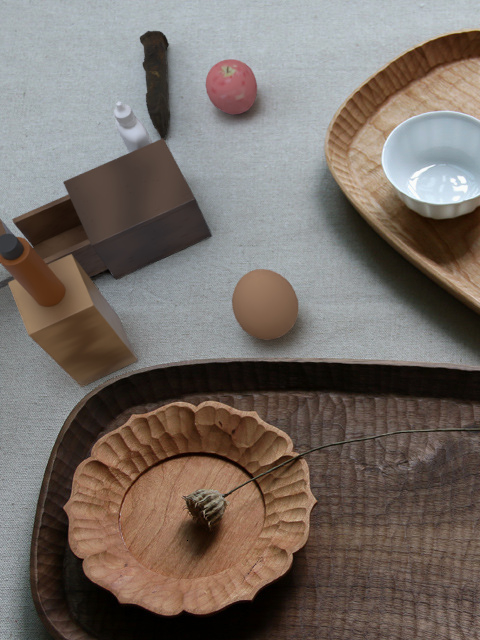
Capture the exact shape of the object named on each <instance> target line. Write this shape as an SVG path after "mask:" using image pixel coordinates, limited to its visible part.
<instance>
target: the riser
mask: <svg viewBox="0 0 480 640" xmlns="http://www.w3.org/2000/svg"><path fill="white" fill-rule="evenodd" d="M48 267H49V268H50V269H51V270H52V271H53V273H54V274H55V275H56V276H57V277H58V279H59V280H60V281H61V282H62V283H63V285H64V286H65V295H64V297H63V299H62V300H61V301H60V302H59V303H58V304H56V305H54V306H50V307H44V306H41V305H39V304H38V303H37V302H36V301H35V300H34V299H33V298H32V297H31V296H30V294H29V293H28V292H27V291H26V290H25V289H24V288H23V287H22V286H21V285H20V284H19V283H18V281H17V280H16V279H15V280H12V281H10V282H8V284H9V285H8V287H9V289H10V292H11V295H12V297H13V300H14V302H15V305H16V307H17V310H18V312H19V315H20V316H21V321H22V322H23V325H24V327H25V330H26V333H27V335H28V337H30V338H31V339H32V340H33V341H34V342H35V343H36V344H37V345H38V346H39V347H40V348H41V349H42V350H43V351H44V352H45V353H46V354H47V355H48V356H49V357H50V358H51V359H52V360H53V361H54V362H55V363H56V364H57V365H58V366H59V367H60V368H61V369H63V370H64V371H65V373H67V375H69V376H70V378H72V379H73V380H74V382H76V383H77V384H78V386H80V388H83V387H85V386H87V385H89V384H91V383H94V382H96V381H98V380H100V379H102V378H104V377H106V376H108V375H110V374H112V373H115V372H117V371H119V370H121V369H123V368H126V367H127V366H129V365H133V363H136V362H138V361H139V360H138V357H137V355H136V353H135V351H134V348H133V346H132V343H131V341H130V339H129V336H128V334H127V332H126V331H125V327H124V326H123V324H122V322H121V319H120V316H119V314H118V313H117V312H116V311H115V309H114V308H113V307H112V305H111V304H110V302H109V301H108V300H107V299H106V298H105V296H104V295H103V294H102V292H101V290H100V289H99V288H98V287H97V285H96V284H95V282H94V281H93V280H92V279H91V277H89V276H88V275H87V274H86V272H85V271H84V270H83V268H82V267H81V266H80V264H79V263H78V262H77V261H76V259H75V258H74V257H73V255H72V254H70V255H68V256H66V257H64V258H61V259H59V260H57V261H55V262H52V263H50V264H48Z"/></svg>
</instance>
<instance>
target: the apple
mask: <svg viewBox="0 0 480 640" xmlns="http://www.w3.org/2000/svg"><path fill="white" fill-rule="evenodd" d="M205 90H206V94H207V96H208V99H209V101H210V102H211V103H212V105H214V107H216V108H217V109H218V110H220V111H221V112H223V113H226V114H228V115H240V114H243V113H246V112H247V111H248V110H250V109H251V108H252V106H253V105H254V103H255V102H256V98H257V94H258V83H257V79H256V76H255V74H254V71H253V70H252V68H251V67H250V66H249V65H248V64H247V63H246V62H243V61H241V60H238V59H232V58H231V59H229V58H228V59H223V60H220V61H218V62H217V63H215V64H214V65H213V66H211V68H210V70H209V71H207V75H206V77H205Z"/></svg>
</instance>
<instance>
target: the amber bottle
mask: <svg viewBox="0 0 480 640" xmlns="http://www.w3.org/2000/svg"><path fill="white" fill-rule="evenodd" d="M13 234H14V233H13ZM13 234H10V233H7V234H3V235H1V236H0V264H1V266H3V267H4V269H5V270H6V271H7V272H8V274H10V275H11V277H12V276H13V277H14V278H15V279H16V280H17V281H18V283H19V284H20V285H21V286H22V287H23V288H24V289H25V290H26V291H27V292H28V293H29V294H30V296H31V297H32V298H33V299H34V300H35V301H36V302H37V303H38V304H39V305H41V306H44V307H50V306H54V305H56V304H58V303H59V302H60V301H61V300H62V299H63V297H64V295H65V286H64V285H63V283H62V282H61V281H60V280H59V279H58V277H57V276H56V275H55V274H54V273H53V271H52V270H51V269H50V268H49V267H48V265H47V264H46V263H45V262H44V261H43V259H42V258H41V257H40V256H39V255H38V253H37V252H36V251H35V250H34V248H33V246H32V245H31V244H30V242H29V241H28V240H27V239H26V238H25V237H22V236H16V235H15V234H14V235H13Z"/></svg>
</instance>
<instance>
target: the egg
mask: <svg viewBox="0 0 480 640" xmlns="http://www.w3.org/2000/svg"><path fill="white" fill-rule="evenodd" d="M231 296H232V297H231V306H232V312H233V316H234V317H235V318H234V319H235V321H236V322H237V324H238V325H239V326H240V327H241V329H242V330H243V331H244V332H246V333H247V334H248V335H249V336H251V337H253V338H256V339H258V340H264V341H269V340H270V341H271V340H276V339H279V338H282V337H283V336H285V335H286V334H288V333H289V332H290V331H291V330H292V328H293V327H294V326H295V324H296V322H297V319H298V316H299V313H300V309H299V308H300V307H299V299H298V296H297V292H296V290H295V289H294V287H293V286H292V284H291V282H290V281H288V279H287V278H285V277H284V276H283V275H282V274H281V273H278V272H276V271H275V270H271V269H266V268H256V269H253V270H250V271H248V272H247V273H245V274H243V276H241V277H240V279H239V280H238V281H237V282H236V285H235V286H234V289H233V293H232V295H231Z"/></svg>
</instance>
